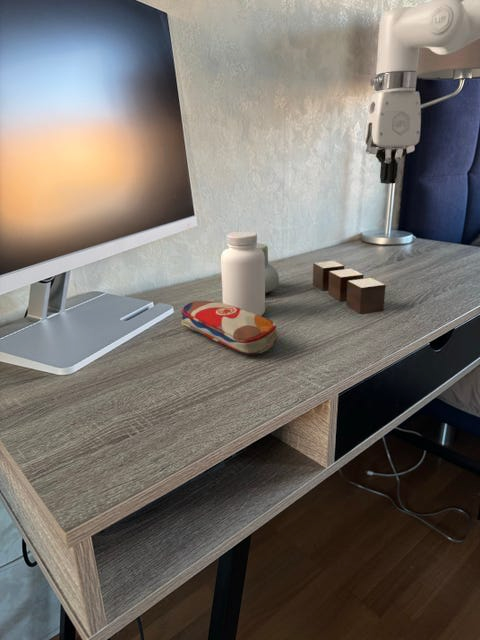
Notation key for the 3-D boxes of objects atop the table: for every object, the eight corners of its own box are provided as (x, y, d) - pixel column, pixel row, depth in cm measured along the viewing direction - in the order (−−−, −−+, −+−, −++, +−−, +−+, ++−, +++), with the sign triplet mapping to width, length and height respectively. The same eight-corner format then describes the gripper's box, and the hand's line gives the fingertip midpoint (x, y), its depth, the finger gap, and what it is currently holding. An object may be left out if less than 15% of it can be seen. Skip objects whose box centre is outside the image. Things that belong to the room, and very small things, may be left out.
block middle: (349, 291, 94) (350, 268, 92) (362, 298, 89) (363, 274, 87) (328, 294, 93) (328, 271, 91) (339, 301, 88) (340, 277, 86)
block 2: (369, 302, 87) (370, 277, 85) (383, 310, 82) (385, 284, 81) (346, 305, 86) (347, 280, 84) (359, 314, 81) (361, 287, 79)
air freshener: (229, 287, 100) (227, 243, 96) (263, 282, 102) (262, 239, 99) (245, 301, 90) (243, 253, 87) (282, 296, 93) (282, 248, 89)
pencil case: (218, 369, 63) (216, 337, 61) (176, 325, 80) (173, 298, 78) (285, 352, 67) (285, 321, 66) (232, 313, 84) (231, 288, 82)
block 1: (332, 282, 101) (333, 260, 99) (343, 288, 96) (344, 265, 94) (312, 284, 99) (313, 262, 98) (322, 291, 95) (323, 268, 93)
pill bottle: (258, 322, 79) (255, 238, 74) (216, 318, 82) (211, 237, 77) (270, 308, 86) (269, 230, 81) (232, 304, 89) (228, 229, 83)
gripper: (372, 82, 81) (365, 186, 88) (441, 82, 85) (430, 182, 92) (351, 88, 88) (346, 184, 95) (416, 87, 92) (407, 180, 98)
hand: (387, 183), depth 93 cm, fingers closed
